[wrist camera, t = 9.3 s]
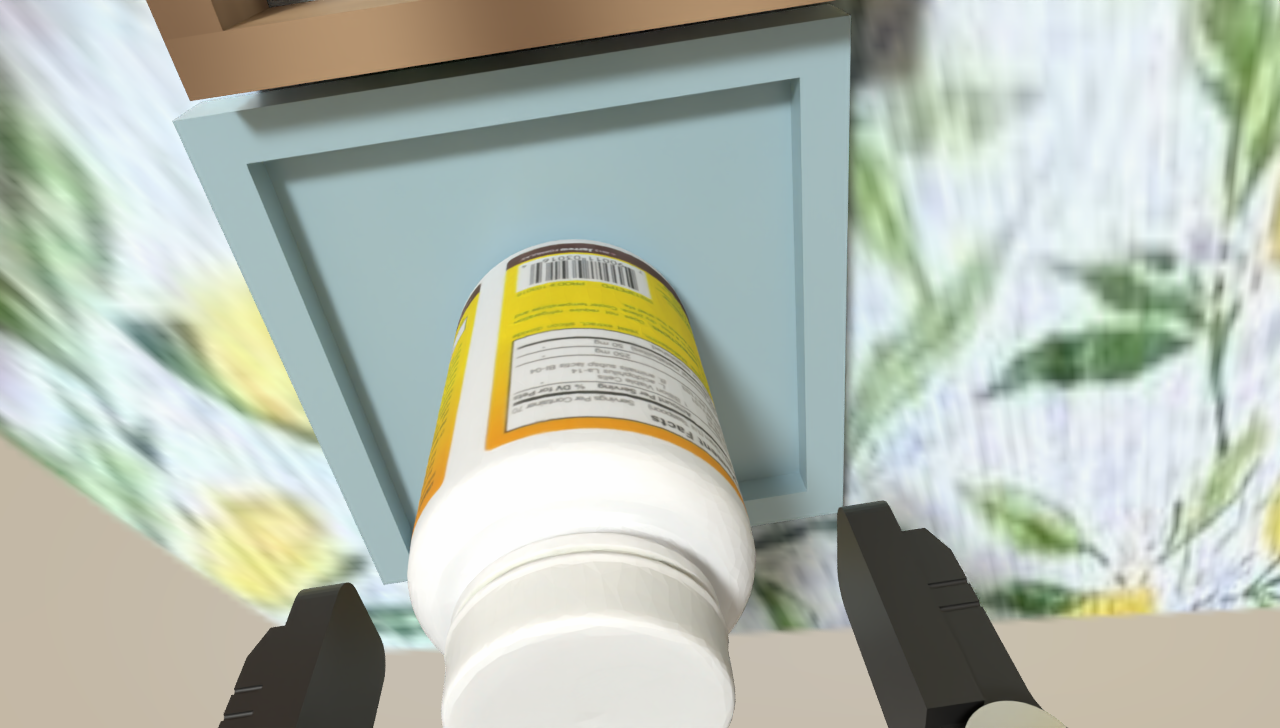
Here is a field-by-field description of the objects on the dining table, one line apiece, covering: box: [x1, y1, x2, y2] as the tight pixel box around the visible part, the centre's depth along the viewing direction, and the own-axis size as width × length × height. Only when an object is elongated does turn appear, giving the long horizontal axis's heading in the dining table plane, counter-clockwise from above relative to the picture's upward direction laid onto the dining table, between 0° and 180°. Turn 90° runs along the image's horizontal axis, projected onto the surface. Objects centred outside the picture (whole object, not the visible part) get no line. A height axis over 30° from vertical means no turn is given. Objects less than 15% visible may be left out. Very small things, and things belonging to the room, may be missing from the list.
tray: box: [173, 4, 851, 585], centre depth 19 cm, size 13×13×1 cm
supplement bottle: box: [407, 239, 756, 728], centre depth 15 cm, size 6×6×10 cm
